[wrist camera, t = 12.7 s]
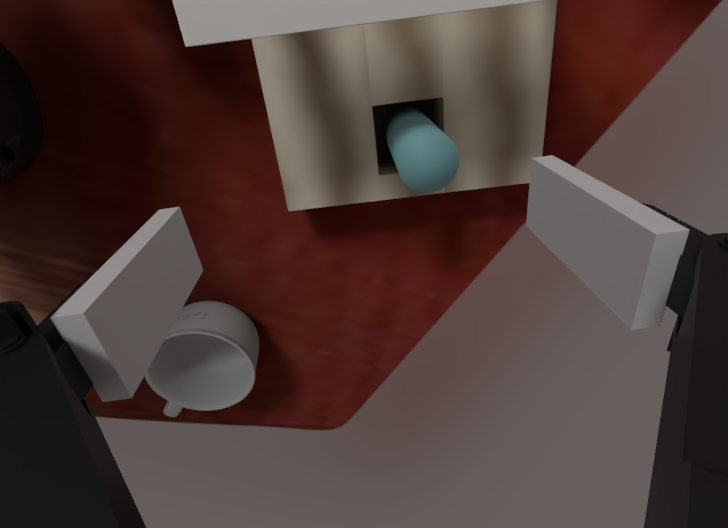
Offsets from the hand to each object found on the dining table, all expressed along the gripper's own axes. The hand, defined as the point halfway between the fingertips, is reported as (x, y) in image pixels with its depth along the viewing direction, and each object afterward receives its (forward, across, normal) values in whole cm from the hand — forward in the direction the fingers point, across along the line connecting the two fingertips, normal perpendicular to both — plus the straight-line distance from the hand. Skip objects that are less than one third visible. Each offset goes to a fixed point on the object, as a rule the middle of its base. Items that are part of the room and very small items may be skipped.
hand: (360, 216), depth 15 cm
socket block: (+24, +5, +3) cm, 25 cm away
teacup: (+25, -19, -23) cm, 39 cm away
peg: (+24, +5, -2) cm, 24 cm away
